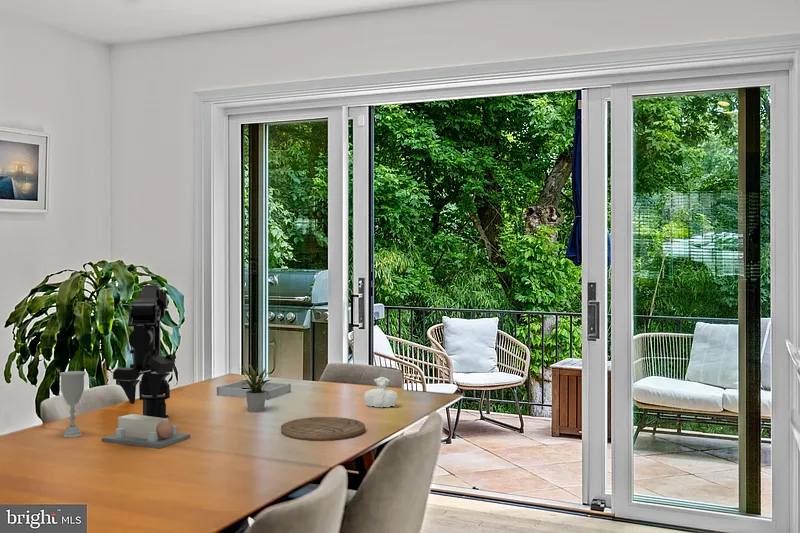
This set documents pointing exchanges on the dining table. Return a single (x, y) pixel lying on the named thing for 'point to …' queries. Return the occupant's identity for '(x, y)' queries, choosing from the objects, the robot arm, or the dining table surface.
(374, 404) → the bust
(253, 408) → the house plant
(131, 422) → the white block
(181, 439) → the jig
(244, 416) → the dining table surface
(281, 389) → the tray
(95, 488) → the dining table surface
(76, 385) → the chalice
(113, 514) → the dining table surface
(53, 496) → the dining table surface
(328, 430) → the trivet
